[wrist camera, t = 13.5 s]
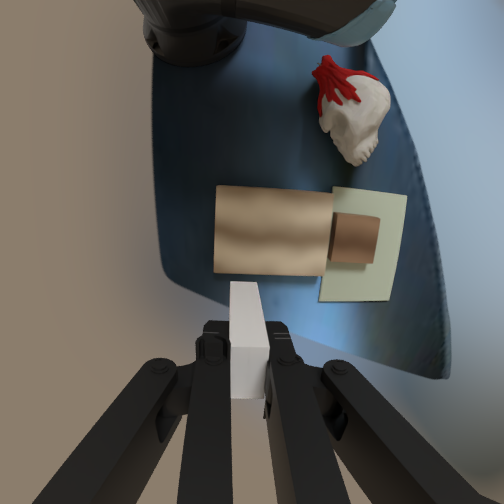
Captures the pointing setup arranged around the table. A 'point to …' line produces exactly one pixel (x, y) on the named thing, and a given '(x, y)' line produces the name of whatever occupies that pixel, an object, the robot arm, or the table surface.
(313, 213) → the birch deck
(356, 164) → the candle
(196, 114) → the table surface
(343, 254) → the walnut tile
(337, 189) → the sage mat
